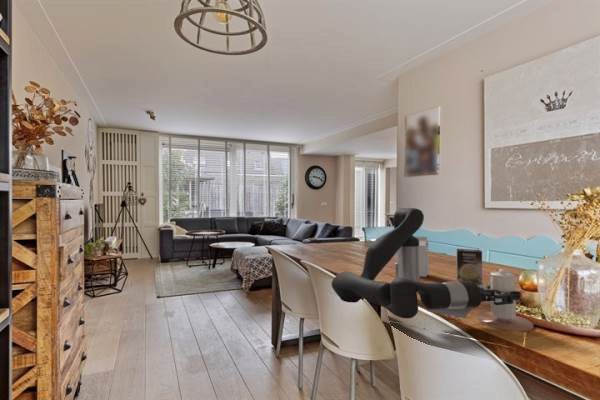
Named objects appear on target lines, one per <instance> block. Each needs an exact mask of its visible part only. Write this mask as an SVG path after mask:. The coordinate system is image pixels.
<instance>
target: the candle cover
mask: <svg viewBox="0 0 600 400" xmlns="http://www.w3.org/2000/svg"><path fill="white" fill-rule="evenodd" d="M489 273H490V275H489V277H490V279H489V281H490V285H489V286H490V289H498V290H500V291H504V292H506V291H507V292H511V291H516V275H515V274H514V273H511V272H507V271H506V270H505V269H504V268H500V269H499V270H498V271H491V272H489ZM494 295H496V292H494ZM516 303H517V302H516V300H513V304H504V305H495V304H494V302H490V312H491V314H492V315H493V316H496V317H499V318H504V319H514V318H516V316H517V313H516V312H517V311H516V308H517V307H516Z"/></svg>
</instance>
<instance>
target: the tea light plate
mask: <svg viewBox="0 0 600 400" xmlns="http://www.w3.org/2000/svg"><path fill="white" fill-rule="evenodd" d="M475 318H476V320H477V321H478V322H479V323H482V324H483V325H486V326H489V327H493V328H496V329H500V330H507V331H518V332H519V331H523V332H524V333H527V332H531V331H533V330H534V323H533V322H532V321H531V320H529V319H527V318H524V317H522V316H518V315H516V318H514V319H504V318H499V317H496V316H493V315H492V314H491V311H482V312H479V313H477V314H476V315H475Z"/></svg>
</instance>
